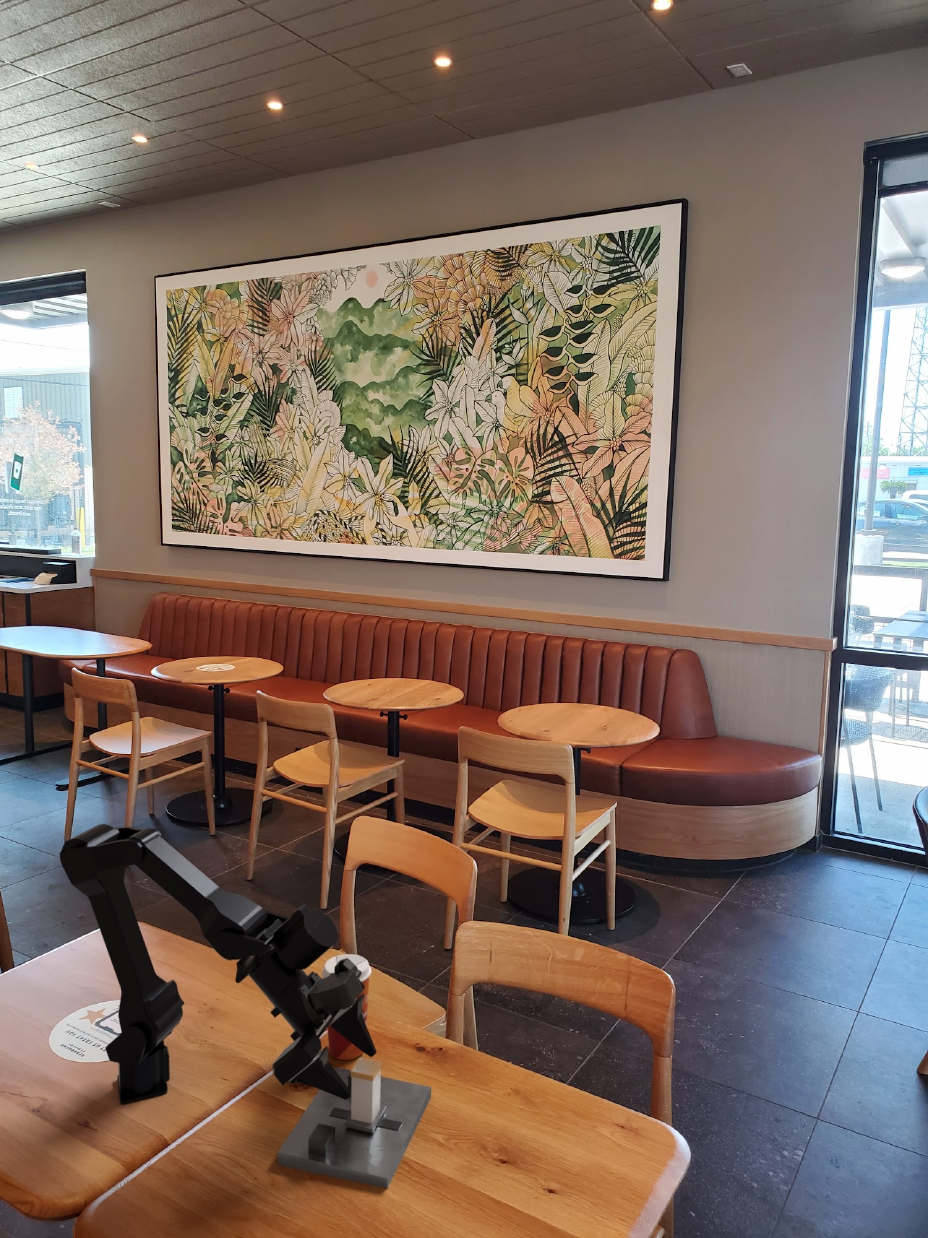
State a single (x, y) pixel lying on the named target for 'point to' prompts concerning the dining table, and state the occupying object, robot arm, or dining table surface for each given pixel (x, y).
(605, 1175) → the dining table surface
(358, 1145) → the plate
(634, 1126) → the dining table surface
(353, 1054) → the paper cup
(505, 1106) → the dining table surface
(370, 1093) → the handle
